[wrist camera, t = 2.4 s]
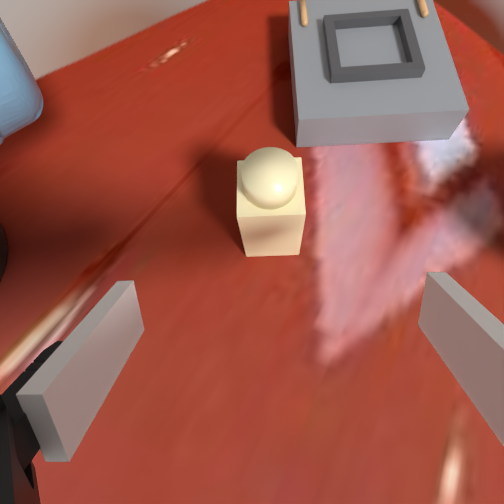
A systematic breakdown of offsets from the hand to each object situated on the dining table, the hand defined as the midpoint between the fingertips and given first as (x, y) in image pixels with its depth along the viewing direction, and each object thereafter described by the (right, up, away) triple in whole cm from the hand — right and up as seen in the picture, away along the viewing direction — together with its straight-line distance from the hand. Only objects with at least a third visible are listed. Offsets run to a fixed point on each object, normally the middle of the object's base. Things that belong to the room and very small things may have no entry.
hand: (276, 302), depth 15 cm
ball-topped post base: (+12, +22, +23) cm, 34 cm away
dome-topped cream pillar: (+1, +4, +17) cm, 18 cm away
